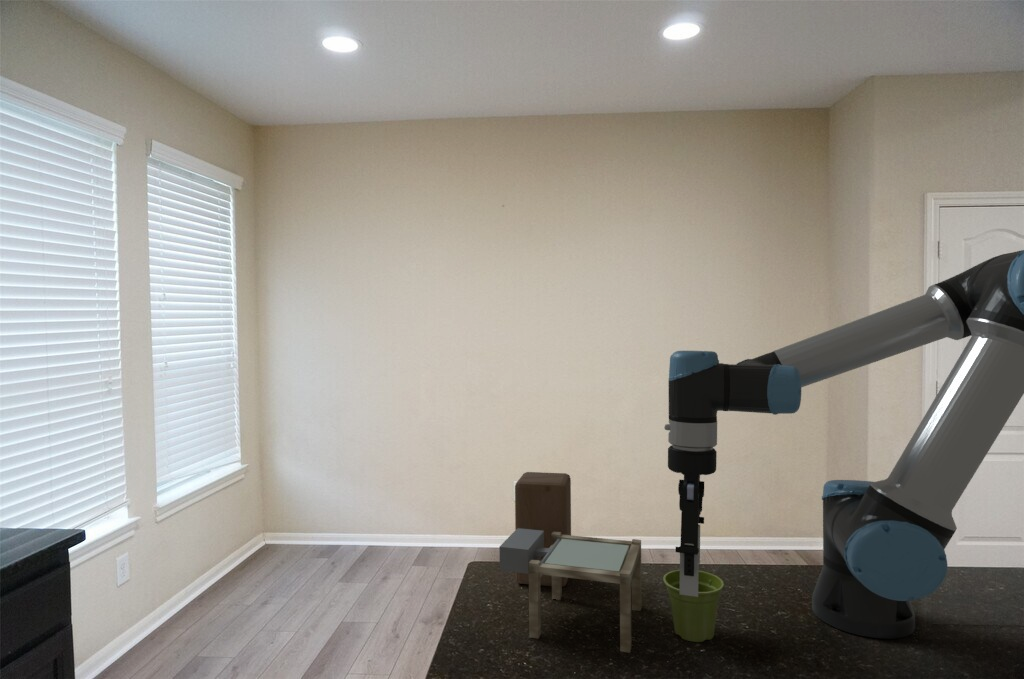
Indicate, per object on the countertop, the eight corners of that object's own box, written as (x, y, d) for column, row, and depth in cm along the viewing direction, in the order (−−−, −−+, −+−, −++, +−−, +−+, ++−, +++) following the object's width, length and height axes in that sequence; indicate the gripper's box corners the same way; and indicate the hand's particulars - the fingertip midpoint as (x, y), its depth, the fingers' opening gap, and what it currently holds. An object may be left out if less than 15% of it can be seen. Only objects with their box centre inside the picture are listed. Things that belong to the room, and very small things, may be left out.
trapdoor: (629, 559, 107) (628, 536, 106) (618, 587, 95) (618, 562, 95) (519, 547, 113) (519, 526, 113) (497, 573, 101) (497, 549, 101)
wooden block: (566, 589, 116) (565, 484, 115) (514, 585, 118) (513, 482, 117) (571, 569, 125) (571, 472, 125) (524, 565, 127) (523, 470, 127)
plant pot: (660, 642, 96) (660, 587, 95) (666, 616, 104) (666, 566, 104) (723, 653, 92) (723, 596, 92) (724, 624, 101) (724, 572, 101)
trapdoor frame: (641, 607, 108) (641, 539, 108) (630, 652, 93) (629, 574, 92) (553, 595, 113) (553, 531, 113) (529, 637, 98) (528, 562, 97)
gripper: (672, 432, 111) (671, 548, 111) (662, 460, 87) (660, 607, 88) (716, 435, 109) (714, 553, 109) (717, 464, 85) (715, 615, 85)
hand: (690, 577), depth 98 cm, fingers open, 13 cm apart
